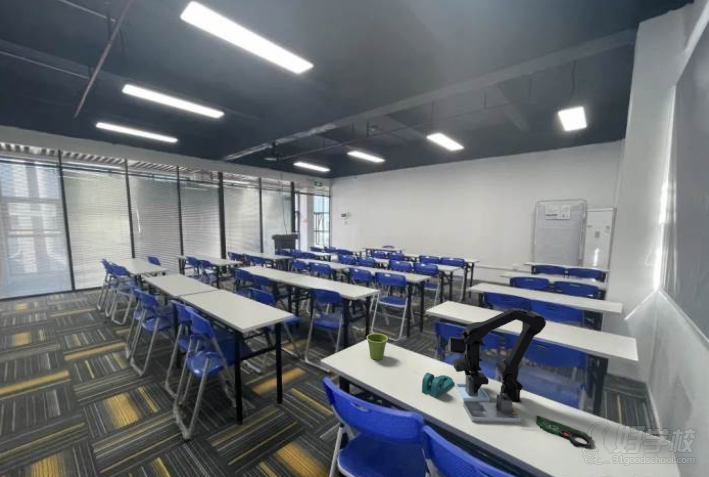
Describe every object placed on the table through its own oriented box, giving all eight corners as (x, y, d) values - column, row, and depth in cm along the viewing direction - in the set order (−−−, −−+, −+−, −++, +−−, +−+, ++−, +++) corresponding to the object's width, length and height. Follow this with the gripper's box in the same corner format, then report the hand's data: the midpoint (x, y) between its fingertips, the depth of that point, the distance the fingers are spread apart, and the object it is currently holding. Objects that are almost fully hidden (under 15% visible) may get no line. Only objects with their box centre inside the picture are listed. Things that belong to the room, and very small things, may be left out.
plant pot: (361, 357, 155) (362, 337, 155) (374, 350, 164) (374, 331, 164) (379, 364, 148) (379, 343, 147) (391, 357, 157) (392, 337, 156)
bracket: (435, 400, 119) (436, 381, 119) (421, 393, 124) (422, 375, 123) (455, 384, 131) (455, 367, 131) (442, 378, 136) (442, 362, 136)
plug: (474, 390, 125) (474, 371, 125) (477, 396, 121) (478, 376, 121) (465, 390, 125) (465, 371, 125) (468, 395, 121) (469, 376, 121)
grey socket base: (507, 409, 113) (508, 387, 113) (520, 424, 104) (521, 401, 104) (463, 407, 114) (464, 385, 114) (471, 423, 105) (472, 399, 105)
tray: (478, 387, 129) (479, 383, 129) (490, 402, 117) (490, 398, 117) (454, 386, 129) (454, 382, 129) (463, 401, 118) (463, 397, 118)
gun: (534, 428, 102) (536, 413, 110) (534, 432, 102) (536, 417, 110) (593, 450, 92) (591, 433, 100) (593, 455, 92) (590, 437, 100)
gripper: (448, 344, 132) (446, 376, 133) (462, 363, 113) (460, 401, 114) (471, 345, 132) (470, 377, 132) (489, 364, 113) (488, 402, 114)
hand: (471, 388), depth 123 cm, fingers open, 6 cm apart
